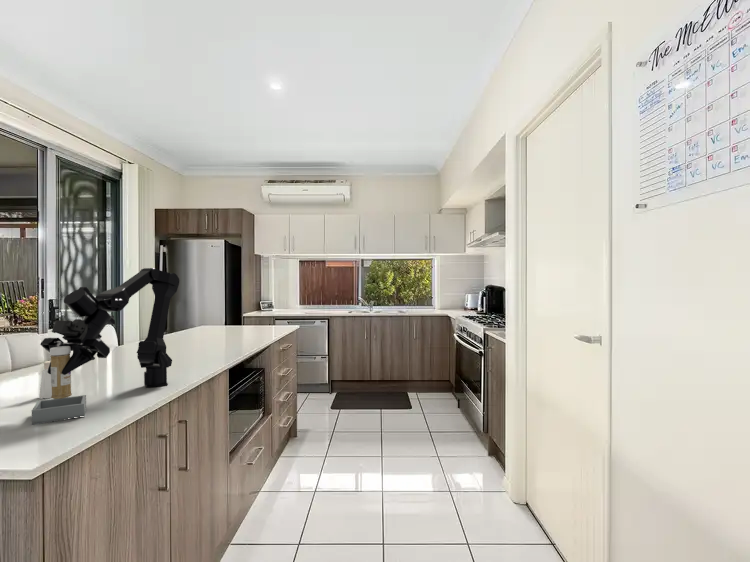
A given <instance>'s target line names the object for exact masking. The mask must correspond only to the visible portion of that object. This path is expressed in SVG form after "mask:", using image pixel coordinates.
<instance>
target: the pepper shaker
mask: <svg viewBox="0 0 750 562" xmlns="http://www.w3.org/2000/svg"><path fill="white" fill-rule="evenodd" d="M50 362H51V360H47V361H46V360H45V361H44V362H43V367H44V368H43V369H42V371H41V378H40V384H39V385H40V387H39V394H38V395H39V396H38V397H39V399H41V398H47V399H52V398H51V396H52V386H51V374H49V373H48V368H49V365H50Z"/></svg>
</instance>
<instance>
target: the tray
mask: <svg viewBox="0 0 750 562" xmlns="http://www.w3.org/2000/svg"><path fill="white" fill-rule="evenodd" d="M85 410H86V411H87V394H83V395H76V396H69V397H66V398H62V399H53V398H48V399H40V400H37V402H36V403H35V405H34V406H33V408H32V409H31V426H32V425H40V424H47V423H52V421H54V422H58V421H57V420H61V421H65V420H64V419H68V418H74V417H80V416H84V415H85V416H86V412H85ZM68 420H69V419H68Z"/></svg>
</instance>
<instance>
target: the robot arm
mask: <svg viewBox="0 0 750 562" xmlns="http://www.w3.org/2000/svg"><path fill="white" fill-rule="evenodd" d="M147 285H151V289H152V292H153V294H154V300H153V305H152V312H151V317H150V322H149V327H148V332H147V336H146V338H145V339H143V340H141V341H139V342H138V347H137V351H136V354H137V355H136V356H137V359H138V363H139V365H140V368H143V369H144V368H145V371H144V372H143V386H145V388H154V387H162V386H168V385H169V383H168V376H167V374H168V371H167V369H168V368H169V367H171V366H172V362H173V358H171V357H170V356H169V355H168V353H167V345H166V343H165V339H164V336H165V331H166V325H167V319H168V314H169V308H170V304H171V299H172V298H173V296H174V295H175V294H176V293H177V292H178V288H179V285H180V278H179V277H178V274H176V273H175V272H168V271H163V270H160V269H157V268H155V267H145V268H144V267H143V268H142V269H140V270H139V272H137V273H136V274H135V275H133V276H131V277H130V278H128V279H127V280H126V281H124V282H123V283H121V284H120V285H118V286H116V287H114V288H110V289H106V290H104V291H102V292H100V293H97V295H96V296H94V295H93V294H92V292H91V291H90V290H89V288H87V286H80V287H79V288H78V289H76V290H74V291H72V292H71V293H69V294H67V295H66V296H64V299H63V303H64V304H65V306H67V307H68V308H69V309H70V310H71V311H72V312H73V313H74V314H75V315H76V316H77V317H79V319H77V318H75V319H74V320H73V321H72V320H60V319H59V320H55V321H54V325H53V327H52V329H51V333H54V334H59V335H61V336H62V339H63V340H64V341H66V342H64V341H63V340H62V339H60V338H59V337H44V339H43V340H42V341H41V342H40V344H39V345H40V346H41V347H42V348H43V349H45V350H46V351H47V352H49V354H50V348H53V347H59V346H70V347H71V352H72V355H70V359H69V361H68V362H67V364H66V365H65V367H64V369H63V370H62V374H63V375H66V374H68V373H69V372H71V373H72V372H73V371H74V370H76V369H78V368H80V367H81V366H83V365H85V364H88V363H89V362H90V361H94V360H95V359H96V357H95V356H97V358H98V359H107V357H108V356H109V355H110V354H111V353H110V352H111V349H110V347H109V345H108V344H106V343H105V341H103V340H102V339H101V338H102V335H101V333H102V331H103V330H104V329H105V327H106V326H107V325H115V324H116V320H115V316H114V315H112V314H111V315H110V313H109V312H111V313H112V312H114V313H115V312H121V311H123V309H125V307H126V306H127V305H128V304H129V302H130V299H131V297H133V296H134V295H135V294H136V293H138V292H139V291H141V290H142V289H143V288H145V287H146V286H147ZM81 317H82V318H83V317H84V318H83V319H80V318H81ZM48 373H49V374H51V362H50V365H49V368H48Z"/></svg>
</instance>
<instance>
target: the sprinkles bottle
mask: <svg viewBox="0 0 750 562" xmlns="http://www.w3.org/2000/svg"><path fill="white" fill-rule="evenodd" d="M71 353H72V351H71V347H70V346H59V347H53V348H50V353H49V355H50V361H51V386H52V396H51V398H50V399H62V398H66V397H72V396H73V395H72V394H73V393H72V371H71V372H69V373H68V374H66V375H63V374H62V370H63V369H64V367H65V365H66V364H67V362H68V361H69V359H70V357H71Z"/></svg>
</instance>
